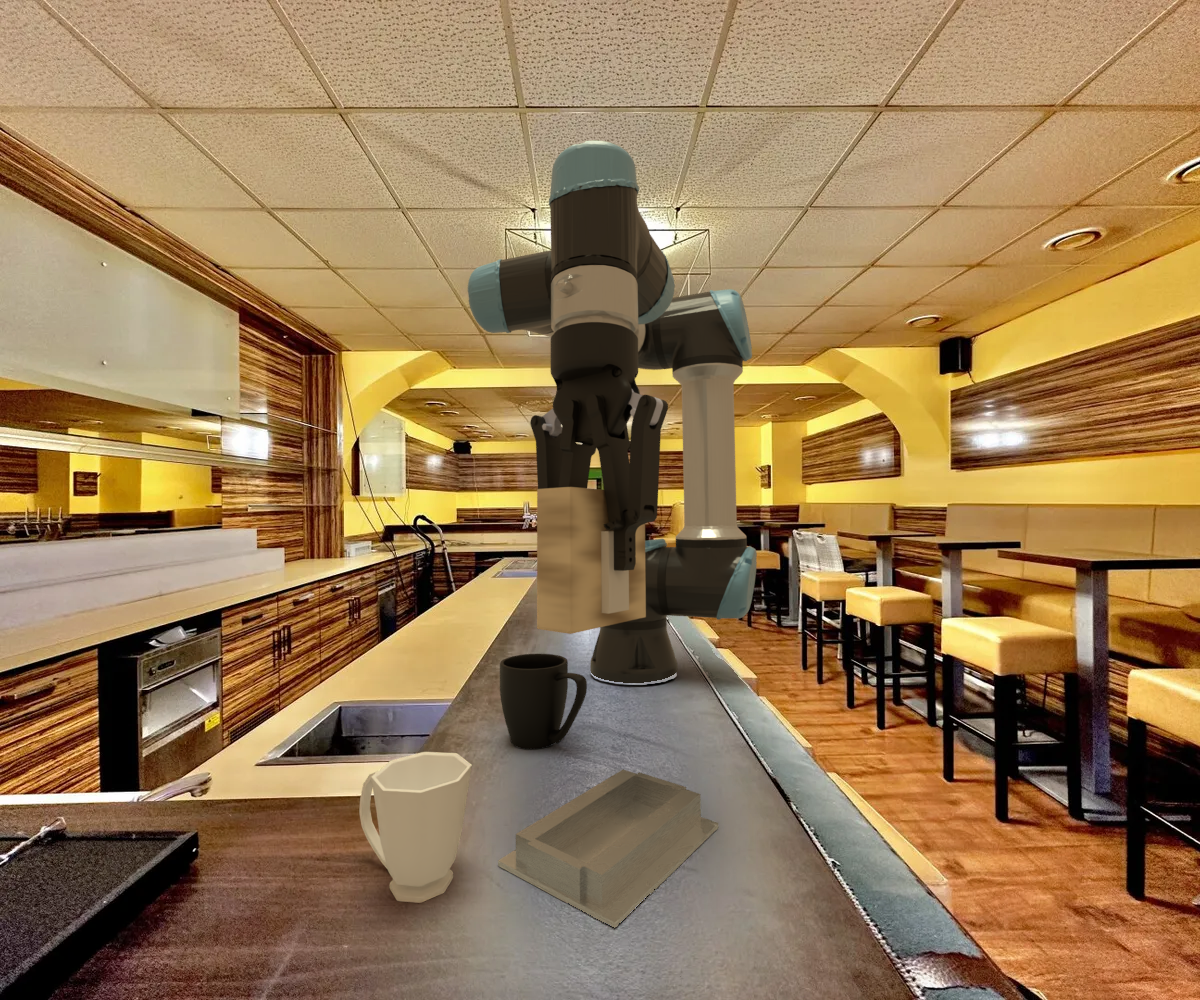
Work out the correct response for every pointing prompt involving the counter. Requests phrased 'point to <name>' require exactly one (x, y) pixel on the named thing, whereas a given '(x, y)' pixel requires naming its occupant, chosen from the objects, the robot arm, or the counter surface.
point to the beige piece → (611, 844)
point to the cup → (417, 820)
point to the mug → (538, 698)
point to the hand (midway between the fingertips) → (595, 608)
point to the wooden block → (578, 562)
